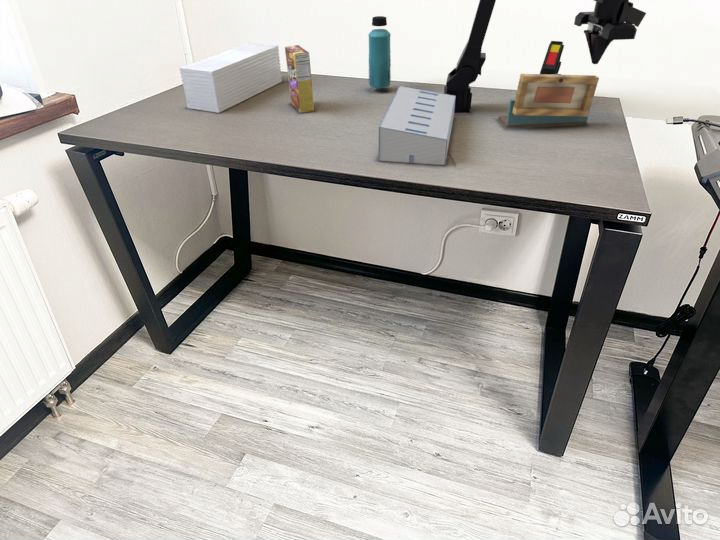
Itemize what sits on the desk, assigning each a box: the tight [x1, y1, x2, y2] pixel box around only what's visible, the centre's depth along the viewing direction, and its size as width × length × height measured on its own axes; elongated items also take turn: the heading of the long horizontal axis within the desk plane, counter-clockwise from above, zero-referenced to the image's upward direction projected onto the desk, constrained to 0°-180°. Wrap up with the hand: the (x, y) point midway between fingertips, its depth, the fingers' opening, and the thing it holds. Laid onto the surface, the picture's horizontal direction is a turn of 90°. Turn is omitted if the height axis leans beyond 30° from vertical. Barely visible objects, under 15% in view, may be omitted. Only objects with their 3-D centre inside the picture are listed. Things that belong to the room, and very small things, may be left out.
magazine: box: [539, 40, 565, 74], centre depth 141 cm, size 4×13×15 cm, turn 155°
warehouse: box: [378, 85, 456, 166], centre depth 121 cm, size 30×14×8 cm, turn 168°
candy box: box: [284, 44, 315, 114], centre depth 139 cm, size 9×4×15 cm, turn 23°
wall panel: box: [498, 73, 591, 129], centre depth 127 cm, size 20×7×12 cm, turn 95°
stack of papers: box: [179, 42, 283, 114], centre depth 151 cm, size 32×11×11 cm, turn 155°
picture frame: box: [512, 73, 600, 118], centre depth 122 cm, size 18×2×9 cm, turn 95°
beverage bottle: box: [367, 15, 392, 89], centre depth 149 cm, size 6×7×20 cm
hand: (594, 63), depth 126 cm, fingers closed
